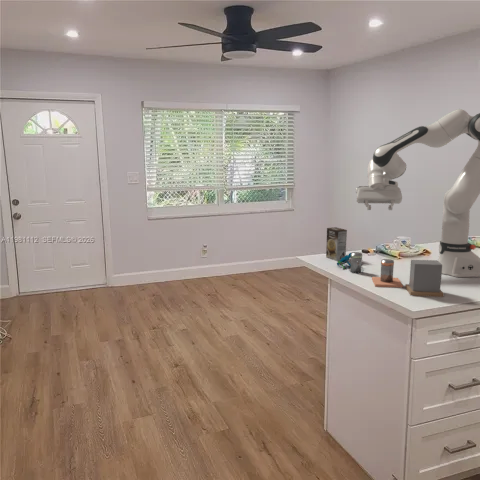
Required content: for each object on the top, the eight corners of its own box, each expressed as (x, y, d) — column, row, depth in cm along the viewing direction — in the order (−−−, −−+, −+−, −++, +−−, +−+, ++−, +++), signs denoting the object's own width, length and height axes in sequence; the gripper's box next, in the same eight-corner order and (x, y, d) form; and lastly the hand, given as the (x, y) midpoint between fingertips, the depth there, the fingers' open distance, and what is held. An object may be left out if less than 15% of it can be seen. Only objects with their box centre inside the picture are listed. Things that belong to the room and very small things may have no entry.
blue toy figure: (345, 259, 217) (355, 248, 210) (352, 269, 215) (363, 258, 208) (330, 266, 211) (341, 255, 203) (338, 275, 209) (349, 265, 201)
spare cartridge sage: (361, 270, 202) (362, 252, 200) (361, 273, 197) (362, 255, 195) (350, 270, 204) (351, 251, 202) (349, 273, 199) (350, 254, 197)
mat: (397, 280, 187) (397, 277, 187) (402, 287, 176) (402, 285, 176) (371, 279, 189) (371, 276, 189) (375, 286, 178) (375, 284, 178)
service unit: (436, 288, 174) (438, 259, 172) (443, 296, 164) (445, 265, 162) (405, 287, 176) (407, 258, 174) (410, 295, 167) (412, 264, 164)
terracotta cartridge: (391, 279, 185) (392, 259, 183) (394, 282, 179) (395, 261, 178) (379, 279, 185) (380, 258, 184) (381, 282, 180) (382, 261, 179)
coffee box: (325, 257, 230) (326, 227, 226) (334, 255, 232) (335, 226, 229) (336, 260, 222) (337, 230, 218) (346, 259, 224) (347, 229, 221)
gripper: (356, 182, 203) (357, 204, 195) (401, 182, 199) (404, 205, 192) (355, 190, 208) (356, 213, 201) (398, 190, 205) (401, 213, 197)
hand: (379, 209), depth 196 cm, fingers open, 8 cm apart
